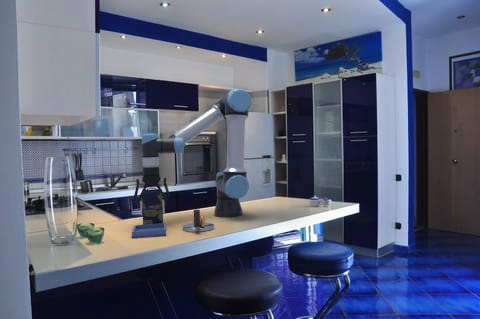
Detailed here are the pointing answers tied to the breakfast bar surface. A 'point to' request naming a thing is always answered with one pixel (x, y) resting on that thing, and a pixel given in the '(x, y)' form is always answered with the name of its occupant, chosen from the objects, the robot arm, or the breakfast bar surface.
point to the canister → (152, 206)
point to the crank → (197, 219)
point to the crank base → (192, 229)
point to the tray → (149, 230)
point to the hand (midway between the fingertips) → (152, 214)
